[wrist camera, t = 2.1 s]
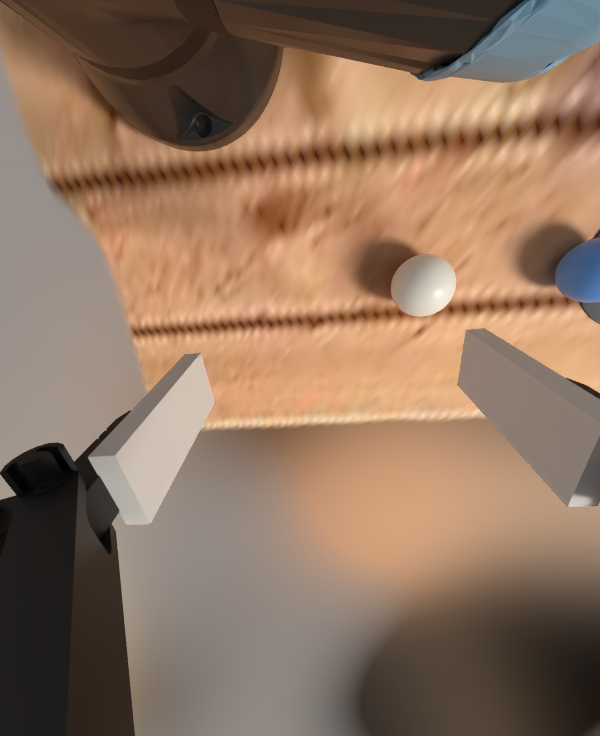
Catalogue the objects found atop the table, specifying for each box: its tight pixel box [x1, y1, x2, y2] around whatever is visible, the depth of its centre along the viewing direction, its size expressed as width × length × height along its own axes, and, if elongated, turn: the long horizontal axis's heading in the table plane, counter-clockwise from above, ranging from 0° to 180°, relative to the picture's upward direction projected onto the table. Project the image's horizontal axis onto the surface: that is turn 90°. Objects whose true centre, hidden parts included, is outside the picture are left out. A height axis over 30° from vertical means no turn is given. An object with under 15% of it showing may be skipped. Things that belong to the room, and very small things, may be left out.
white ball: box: [391, 254, 456, 317], centre depth 27 cm, size 6×6×6 cm
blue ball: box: [555, 237, 600, 303], centre depth 26 cm, size 6×6×6 cm
